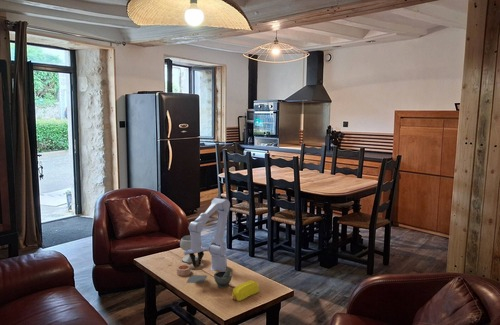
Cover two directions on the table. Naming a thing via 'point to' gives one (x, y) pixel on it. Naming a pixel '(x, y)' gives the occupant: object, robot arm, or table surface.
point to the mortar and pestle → (223, 278)
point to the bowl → (183, 270)
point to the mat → (196, 279)
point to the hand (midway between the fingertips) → (196, 264)
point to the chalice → (186, 247)
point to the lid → (196, 265)
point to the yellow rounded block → (245, 290)
